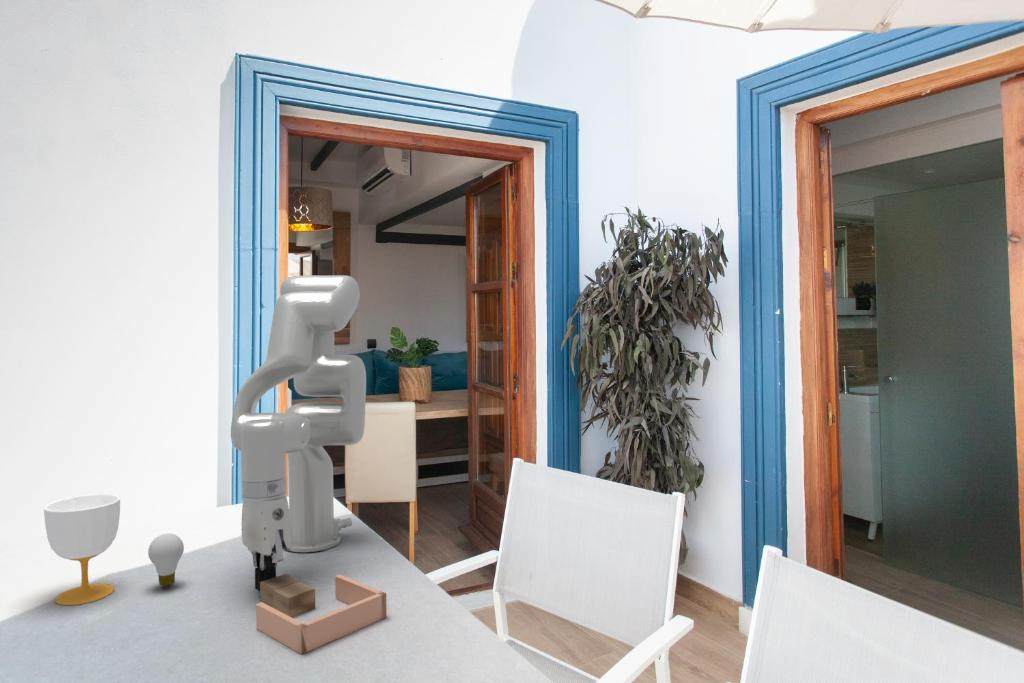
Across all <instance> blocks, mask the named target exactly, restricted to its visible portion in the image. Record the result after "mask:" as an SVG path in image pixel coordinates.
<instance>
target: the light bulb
mask: <svg viewBox="0 0 1024 683" xmlns="http://www.w3.org/2000/svg"><path fill="white" fill-rule="evenodd" d="M184 550H185V545H184V542H183V540H182V539H181V537H180V536H179V535H176V534H174V533H163V534H160V535H158V536H156V537H155V538H154V539H153V540H152V541H151V542H150V545H149V547H148V554H147V555H148V558H149V560H150V561H151V563H152V564H153V565H154V568H155V570H156V573H157V576H158V584H159V586H161V587H163V588H165V589H167V588H169V587H171V586H172V585H173V584H174V583H175V582H176V581H175V580H176V577H175V576H176V571H177V568H178V563H179V562H180V560H181V558H182V556H183V555H184Z"/></svg>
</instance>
